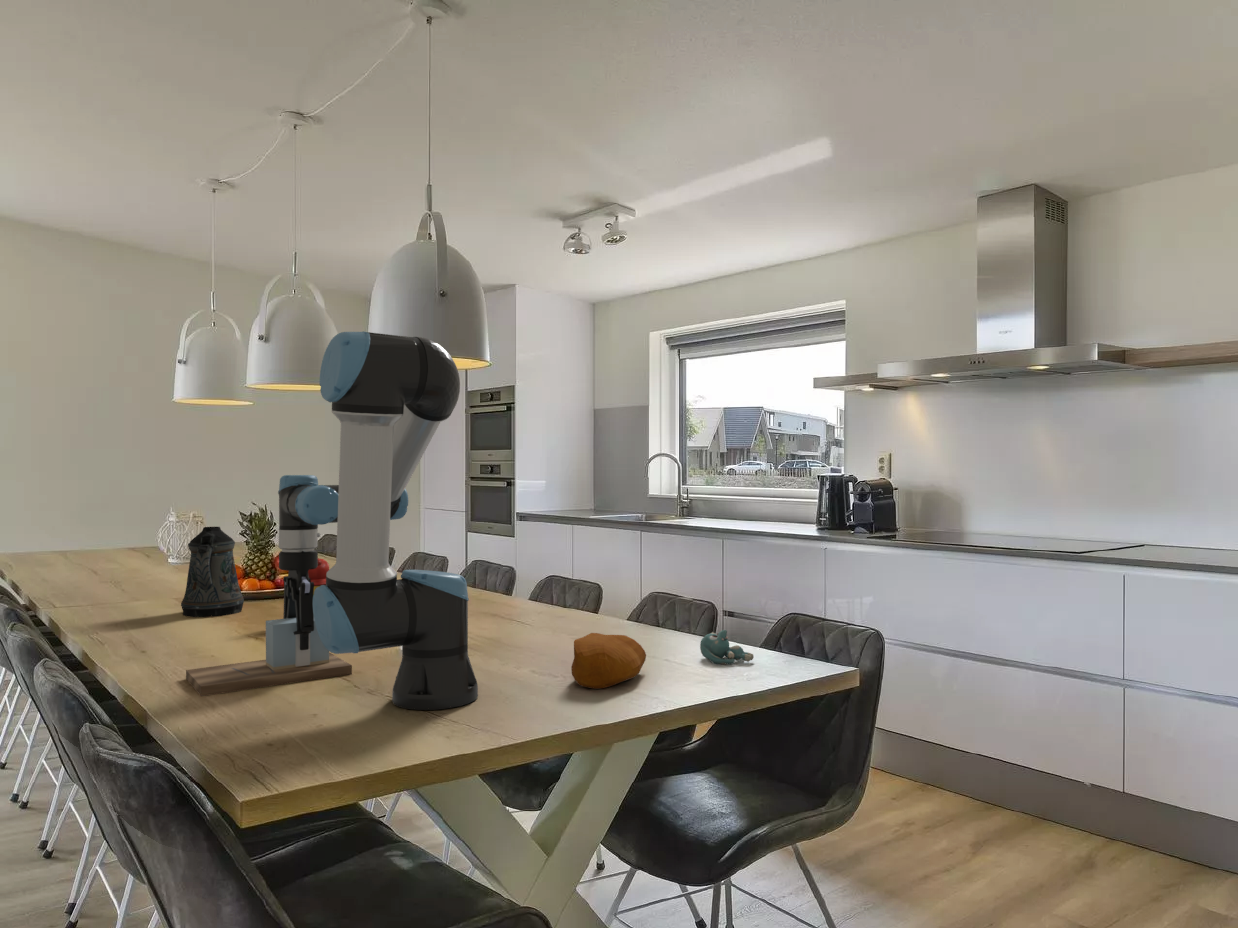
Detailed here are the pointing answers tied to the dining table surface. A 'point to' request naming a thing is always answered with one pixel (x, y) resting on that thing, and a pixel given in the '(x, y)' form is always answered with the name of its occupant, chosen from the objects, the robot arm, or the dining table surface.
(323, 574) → the stacking bear
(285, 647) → the sanding block
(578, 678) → the bread
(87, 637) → the dining table surface
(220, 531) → the beer stein
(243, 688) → the board
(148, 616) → the dining table surface
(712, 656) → the stuffed animal
